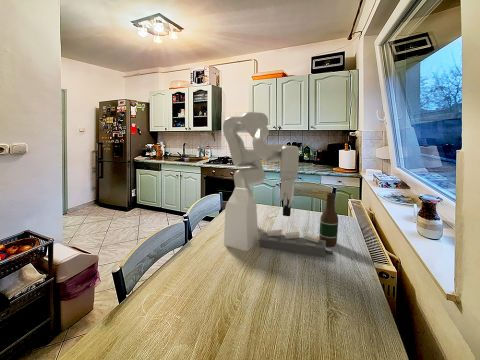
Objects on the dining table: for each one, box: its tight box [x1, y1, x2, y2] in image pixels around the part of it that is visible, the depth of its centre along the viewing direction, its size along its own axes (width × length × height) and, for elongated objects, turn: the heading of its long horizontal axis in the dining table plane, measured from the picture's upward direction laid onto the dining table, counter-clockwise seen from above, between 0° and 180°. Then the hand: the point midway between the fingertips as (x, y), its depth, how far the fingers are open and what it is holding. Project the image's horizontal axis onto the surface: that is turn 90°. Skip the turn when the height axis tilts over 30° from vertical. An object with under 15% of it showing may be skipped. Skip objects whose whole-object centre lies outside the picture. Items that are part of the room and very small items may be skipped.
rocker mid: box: [284, 231, 301, 239], centre depth 112 cm, size 6×3×2 cm, turn 69°
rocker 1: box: [266, 229, 283, 236], centre depth 114 cm, size 6×3×2 cm, turn 70°
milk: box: [223, 187, 259, 252], centre depth 115 cm, size 12×12×26 cm
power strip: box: [258, 232, 334, 258], centre depth 110 cm, size 31×8×4 cm, turn 71°
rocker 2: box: [303, 232, 319, 243], centre depth 109 cm, size 6×3×2 cm, turn 72°
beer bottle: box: [318, 192, 339, 248], centre depth 114 cm, size 8×8×24 cm
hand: (286, 215), depth 111 cm, fingers closed
